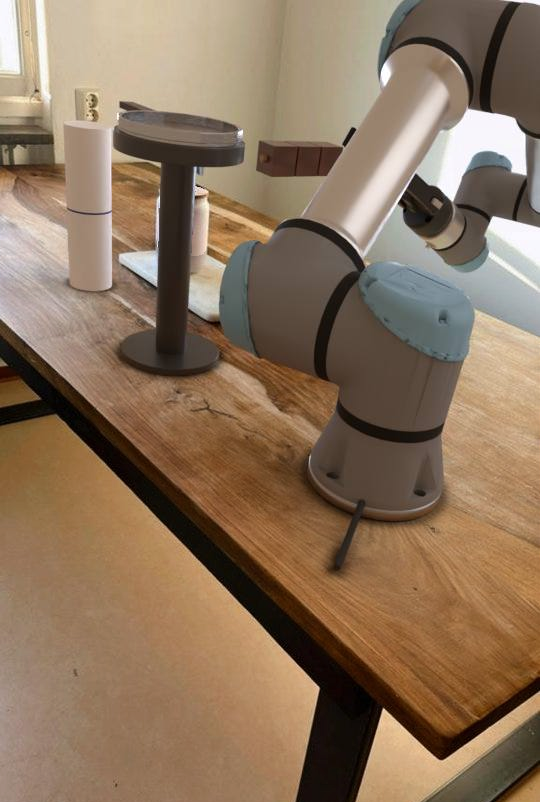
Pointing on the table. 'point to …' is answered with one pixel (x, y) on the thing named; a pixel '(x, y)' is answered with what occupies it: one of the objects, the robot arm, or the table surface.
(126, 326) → the table surface
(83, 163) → the cylindrical container
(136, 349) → the plant stand
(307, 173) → the beef skewer
